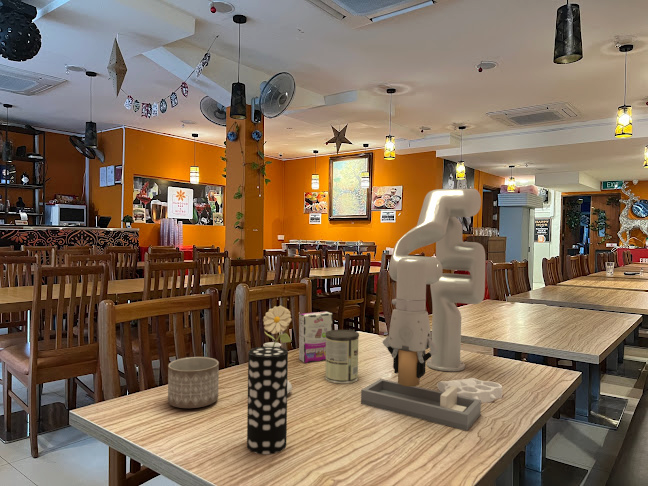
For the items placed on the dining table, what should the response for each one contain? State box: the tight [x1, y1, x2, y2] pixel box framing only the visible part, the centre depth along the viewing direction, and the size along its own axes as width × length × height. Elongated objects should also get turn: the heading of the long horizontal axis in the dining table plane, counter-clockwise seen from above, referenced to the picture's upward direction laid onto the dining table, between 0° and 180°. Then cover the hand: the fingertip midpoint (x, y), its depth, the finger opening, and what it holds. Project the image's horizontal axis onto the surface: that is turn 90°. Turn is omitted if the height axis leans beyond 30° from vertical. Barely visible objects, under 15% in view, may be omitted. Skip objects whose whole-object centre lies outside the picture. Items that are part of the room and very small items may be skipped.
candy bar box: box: [298, 311, 333, 364], centre depth 163 cm, size 11×5×16 cm, turn 117°
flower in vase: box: [262, 305, 293, 395], centre depth 128 cm, size 13×11×25 cm
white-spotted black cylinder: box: [246, 346, 289, 455], centre depth 99 cm, size 8×8×20 cm
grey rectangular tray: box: [360, 378, 482, 431], centre depth 120 cm, size 11×28×4 cm, turn 57°
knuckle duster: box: [436, 377, 503, 404], centre depth 131 cm, size 3×18×15 cm
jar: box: [397, 346, 421, 387], centre depth 121 cm, size 6×6×10 cm
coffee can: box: [324, 329, 360, 385], centre depth 143 cm, size 10×10×14 cm
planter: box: [167, 356, 220, 409], centre depth 122 cm, size 13×13×10 cm
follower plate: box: [440, 386, 467, 412], centre depth 115 cm, size 8×4×5 cm, turn 147°
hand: (408, 373), depth 121 cm, fingers closed on jar, 5 cm apart
